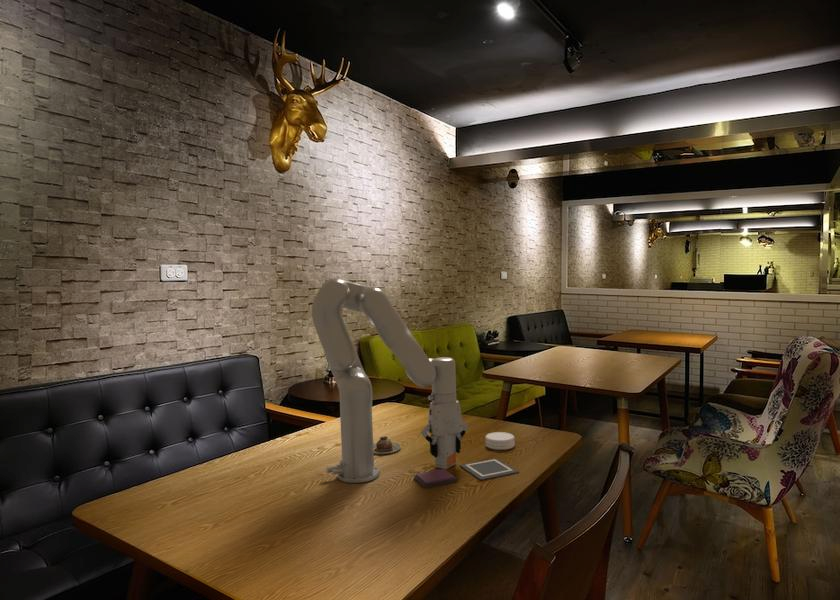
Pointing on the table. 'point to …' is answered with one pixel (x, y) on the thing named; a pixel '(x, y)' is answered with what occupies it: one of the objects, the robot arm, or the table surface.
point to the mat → (489, 469)
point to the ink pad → (434, 478)
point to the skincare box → (446, 451)
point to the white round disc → (500, 440)
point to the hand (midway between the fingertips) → (445, 453)
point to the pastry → (385, 446)
